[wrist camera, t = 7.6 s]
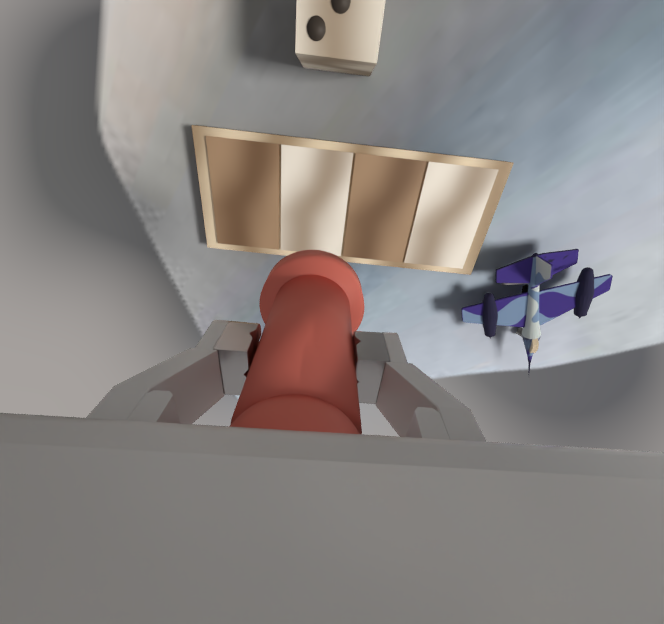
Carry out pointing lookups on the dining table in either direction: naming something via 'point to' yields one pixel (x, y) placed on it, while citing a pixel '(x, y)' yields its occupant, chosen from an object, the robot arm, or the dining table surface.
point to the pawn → (305, 348)
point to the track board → (345, 199)
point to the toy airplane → (536, 296)
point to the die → (339, 34)
